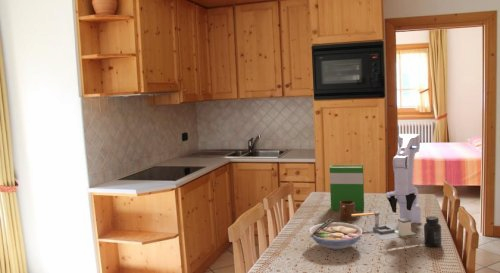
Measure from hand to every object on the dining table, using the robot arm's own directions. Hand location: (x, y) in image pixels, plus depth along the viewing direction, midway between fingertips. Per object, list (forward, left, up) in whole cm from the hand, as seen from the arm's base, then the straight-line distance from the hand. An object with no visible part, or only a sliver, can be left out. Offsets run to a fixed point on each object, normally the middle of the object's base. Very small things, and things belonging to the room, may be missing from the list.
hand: (401, 211), depth 206 cm
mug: (+15, -26, -11) cm, 32 cm away
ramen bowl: (+35, +4, -11) cm, 37 cm away
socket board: (+5, -3, -10) cm, 12 cm away
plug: (0, +2, -9) cm, 10 cm away
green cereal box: (+4, -46, -11) cm, 47 cm away
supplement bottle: (-3, +18, -11) cm, 21 cm away
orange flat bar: (+12, -11, -3) cm, 17 cm away
